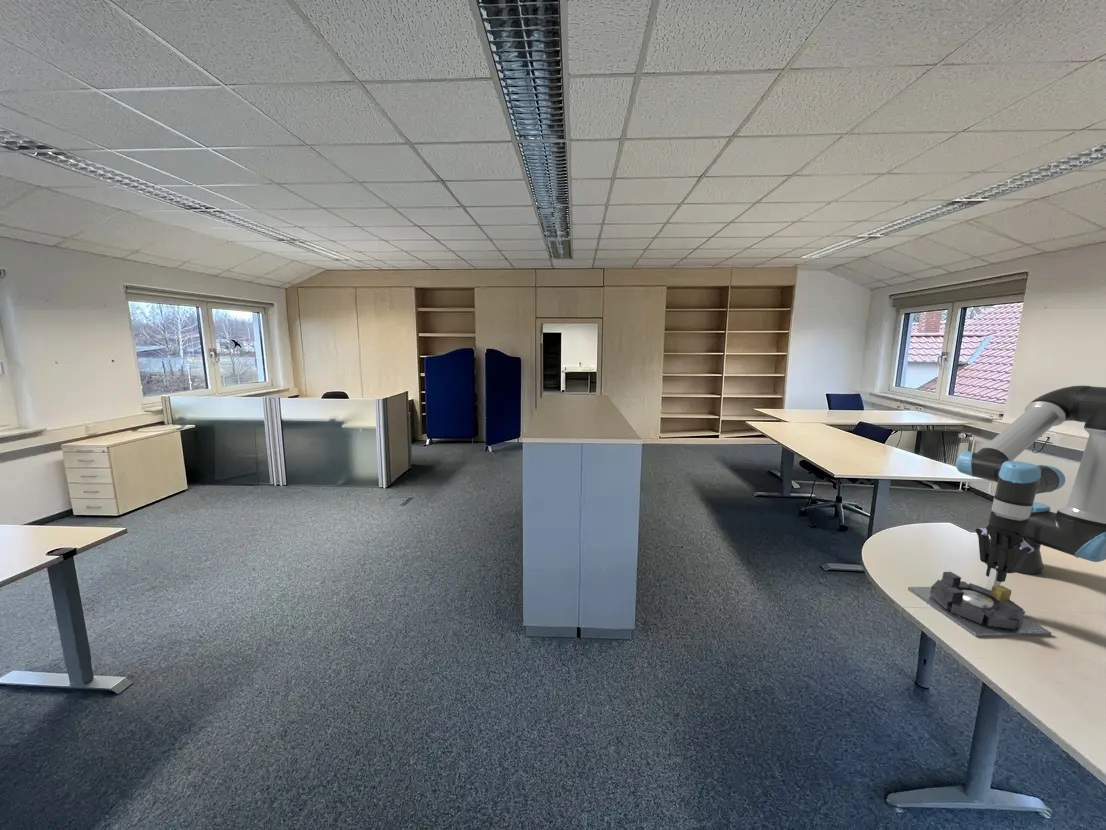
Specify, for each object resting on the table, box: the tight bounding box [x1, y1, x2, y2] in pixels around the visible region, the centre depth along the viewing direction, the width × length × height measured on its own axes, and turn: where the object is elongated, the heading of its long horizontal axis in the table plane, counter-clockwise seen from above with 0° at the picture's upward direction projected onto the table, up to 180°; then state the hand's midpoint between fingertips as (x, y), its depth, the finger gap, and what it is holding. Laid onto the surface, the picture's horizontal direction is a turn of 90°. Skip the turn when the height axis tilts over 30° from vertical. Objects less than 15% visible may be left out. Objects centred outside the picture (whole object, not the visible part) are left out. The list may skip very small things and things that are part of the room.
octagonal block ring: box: [930, 571, 1026, 629], centre depth 122 cm, size 18×18×6 cm
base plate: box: [907, 586, 1052, 638], centre depth 122 cm, size 21×21×4 cm
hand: (992, 588), depth 124 cm, fingers closed
